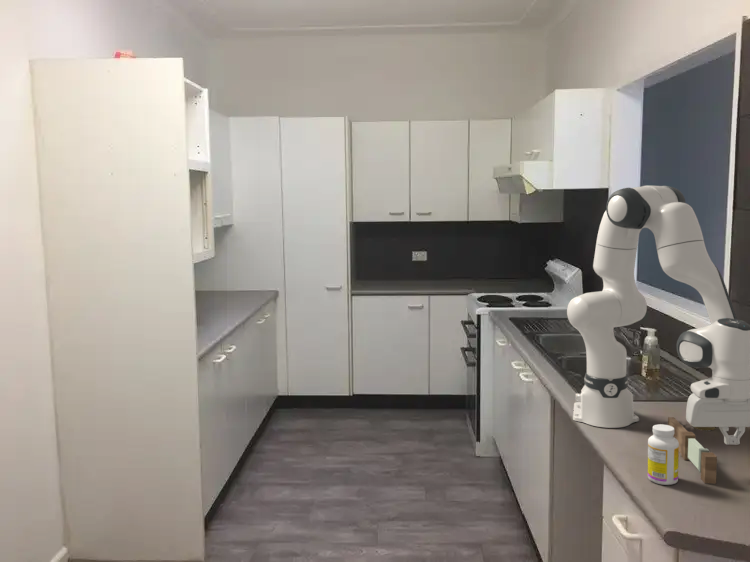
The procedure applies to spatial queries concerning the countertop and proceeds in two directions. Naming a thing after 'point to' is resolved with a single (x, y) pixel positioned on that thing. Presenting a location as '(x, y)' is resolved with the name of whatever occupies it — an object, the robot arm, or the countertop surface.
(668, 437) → the supplement bottle
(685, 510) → the countertop surface
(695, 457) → the pale green flat block
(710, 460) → the fence
